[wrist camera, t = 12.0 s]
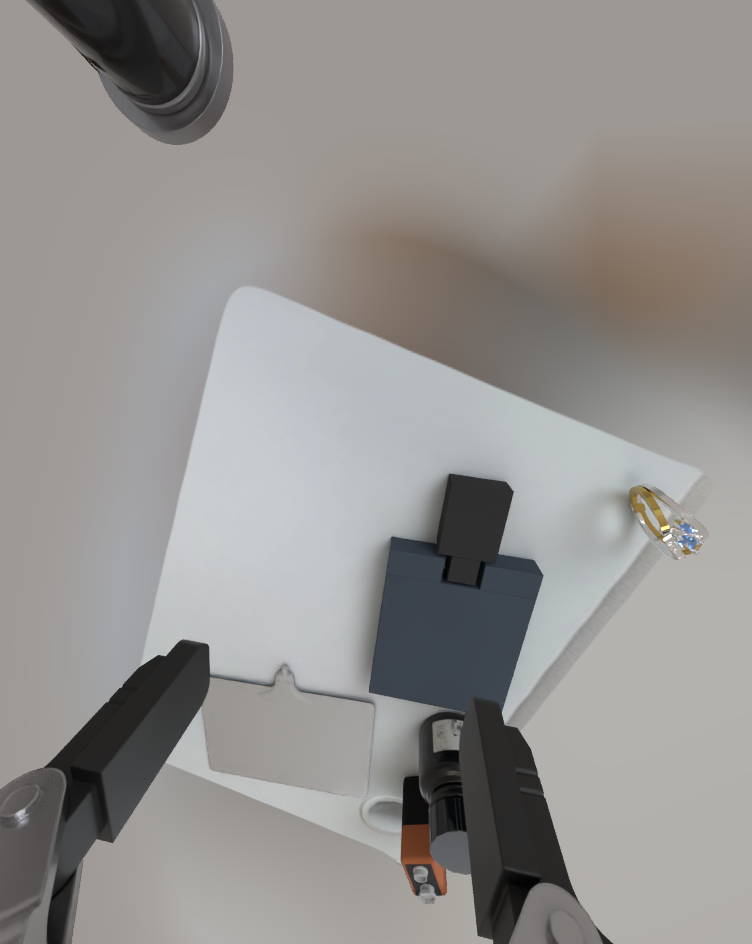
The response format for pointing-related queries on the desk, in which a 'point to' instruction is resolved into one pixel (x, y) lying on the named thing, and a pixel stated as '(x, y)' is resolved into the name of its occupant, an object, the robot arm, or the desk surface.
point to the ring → (686, 532)
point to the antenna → (289, 735)
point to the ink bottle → (444, 791)
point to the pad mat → (450, 627)
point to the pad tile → (472, 525)
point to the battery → (419, 846)
